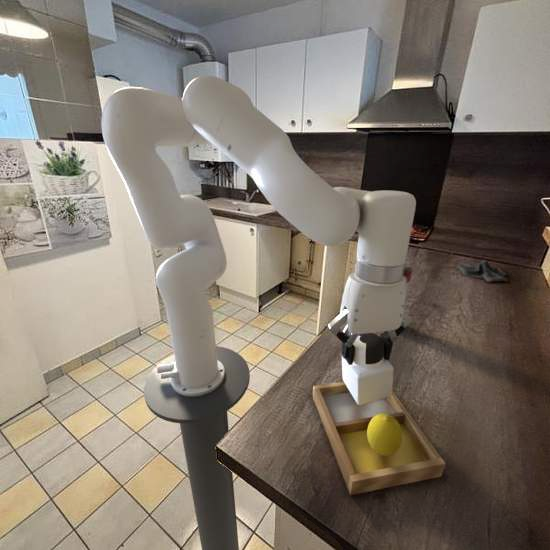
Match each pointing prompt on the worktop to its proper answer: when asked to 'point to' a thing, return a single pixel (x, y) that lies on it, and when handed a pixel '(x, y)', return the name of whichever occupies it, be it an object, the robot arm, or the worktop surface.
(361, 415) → the tray
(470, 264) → the cloth
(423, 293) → the worktop surface
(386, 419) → the lemon
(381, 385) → the medicine bottle
